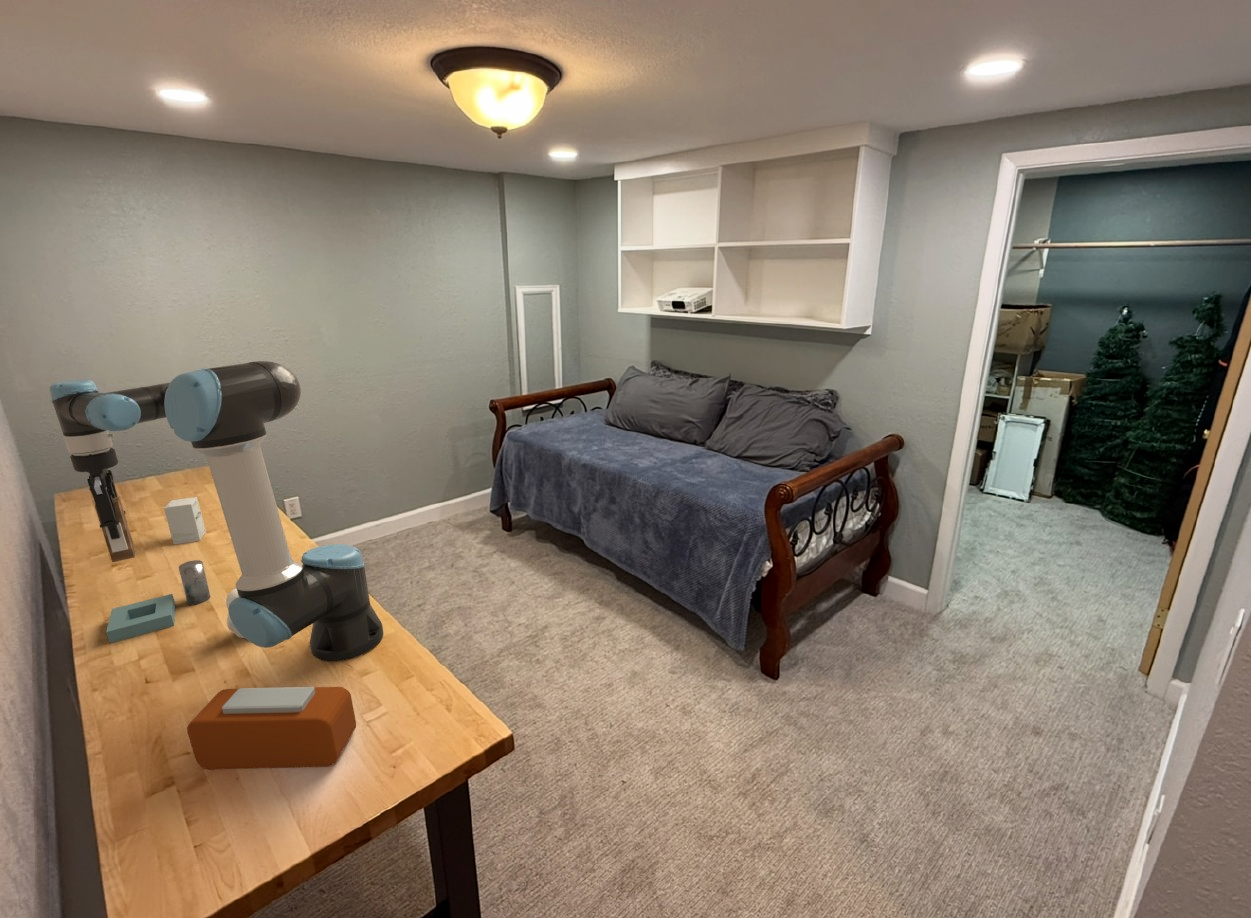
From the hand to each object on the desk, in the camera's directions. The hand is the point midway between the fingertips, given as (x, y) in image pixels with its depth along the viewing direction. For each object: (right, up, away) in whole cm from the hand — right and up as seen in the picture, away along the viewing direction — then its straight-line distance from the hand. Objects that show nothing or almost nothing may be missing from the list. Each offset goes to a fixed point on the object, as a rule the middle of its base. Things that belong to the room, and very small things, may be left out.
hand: (121, 546), depth 138 cm
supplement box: (-22, -5, +52) cm, 57 cm away
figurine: (+29, -21, +2) cm, 36 cm away
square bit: (0, -2, +1) cm, 3 cm away
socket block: (0, -19, +6) cm, 20 cm away
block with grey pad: (+56, -32, -33) cm, 72 cm away
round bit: (+6, -16, +16) cm, 24 cm away
